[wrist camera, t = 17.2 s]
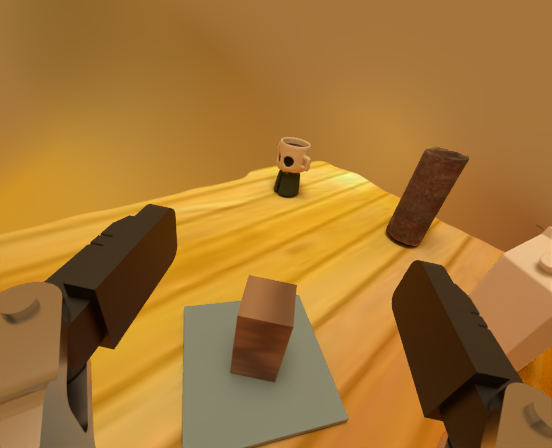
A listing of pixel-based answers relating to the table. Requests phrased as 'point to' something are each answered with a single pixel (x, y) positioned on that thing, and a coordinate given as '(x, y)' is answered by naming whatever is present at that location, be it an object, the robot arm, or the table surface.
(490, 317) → the milk carton
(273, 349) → the walnut block
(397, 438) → the table surface
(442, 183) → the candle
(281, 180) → the character mug
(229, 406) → the slate-blue mat
